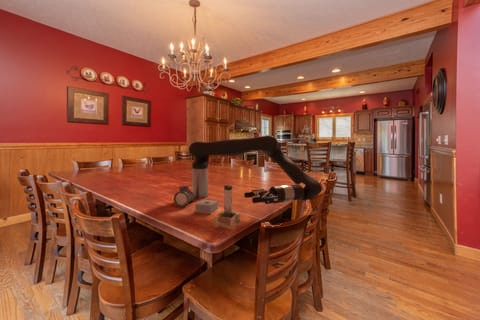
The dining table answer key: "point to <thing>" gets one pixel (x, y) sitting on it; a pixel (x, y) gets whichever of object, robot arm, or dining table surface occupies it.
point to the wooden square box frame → (227, 220)
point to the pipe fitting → (183, 196)
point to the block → (206, 206)
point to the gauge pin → (228, 201)
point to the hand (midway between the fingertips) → (248, 197)
